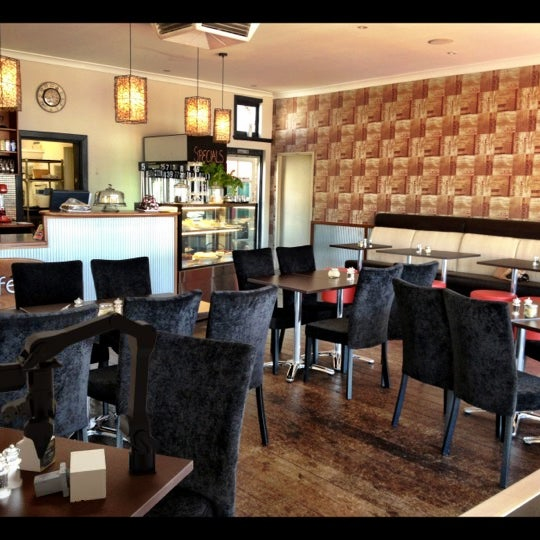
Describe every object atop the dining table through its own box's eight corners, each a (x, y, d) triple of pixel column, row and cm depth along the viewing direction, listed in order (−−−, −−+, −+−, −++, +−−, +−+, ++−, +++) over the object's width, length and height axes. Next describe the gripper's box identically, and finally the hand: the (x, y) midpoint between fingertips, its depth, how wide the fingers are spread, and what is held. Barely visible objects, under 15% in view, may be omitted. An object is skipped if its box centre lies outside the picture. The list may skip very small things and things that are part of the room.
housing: (104, 475, 149) (103, 448, 149) (105, 497, 138) (105, 468, 137) (71, 479, 147) (71, 452, 146) (70, 502, 136) (70, 472, 135)
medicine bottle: (40, 472, 150) (39, 428, 149) (16, 469, 152) (15, 425, 151) (55, 461, 157) (55, 418, 156) (32, 458, 159) (31, 415, 158)
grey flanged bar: (94, 477, 146) (90, 455, 145) (94, 488, 140) (90, 465, 139) (38, 492, 142) (34, 469, 141) (37, 504, 136) (32, 480, 135)
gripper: (8, 378, 143) (9, 439, 145) (-3, 402, 125) (-1, 471, 127) (56, 375, 146) (57, 434, 148) (52, 398, 129) (54, 465, 130)
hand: (42, 450), depth 138 cm, fingers open, 9 cm apart
